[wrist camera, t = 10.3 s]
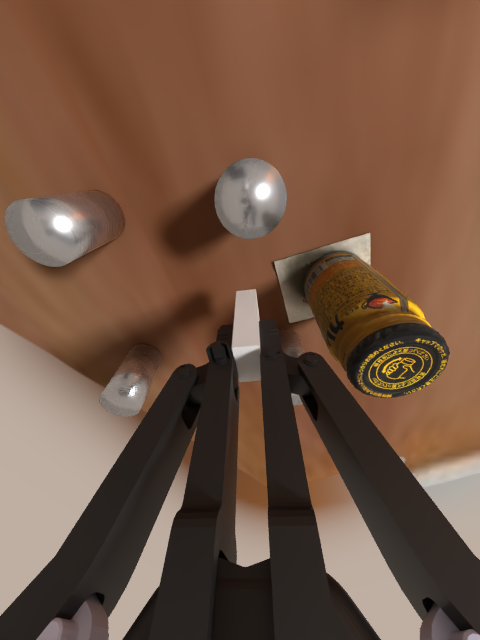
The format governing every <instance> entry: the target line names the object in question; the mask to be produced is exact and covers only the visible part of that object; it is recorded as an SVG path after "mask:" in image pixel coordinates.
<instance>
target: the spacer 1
mask: <svg viewBox="0 0 480 640" xmlns="http://www.w3.org/2000/svg"><path fill="white" fill-rule="evenodd" d="M5 225H6V228H7V231H8V233H9V236H10V237H11V239H12V241H13V242H14V243H15V245H16V246H17V247H18V248H19V249H20V250H21V251H22V252H23V253H24V254H25V255H26V256H28V257H29V258H31V259H32V260H34V261H36V262H38V263H40V264H42V265H46V266H50V267H60V266H64V265H66V264H68V263H70V262H72V261H74V260H76V259H78V258H80V257H81V256H83V255H85V254H87V253H89V252H91V251H93V250H95V249H97V248H99V247H101V246H103V245H104V244H106V243H108V242H110V241H112V240H114V239H116V238H118V237H119V236H120V235H121V234H122V232H123V230H124V227H125V219H124V215H123V212H122V210H121V208H120V206H119V205H118V203H117V202H116V201H115V200H114V199H113V198H112V197H111V196H109V195H108V194H106V193H104V192H101V191H98V190H89V191H81V192H74V193H67V194H59V195H52V196H44V197H37V198H29V199H22V200H17V201H15V202H13V203H11V204H10V205H9V207H8V208H7V210H6V213H5Z"/></svg>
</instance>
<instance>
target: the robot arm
mask: <svg viewBox="0 0 480 640" xmlns="http://www.w3.org/2000/svg"><path fill="white" fill-rule="evenodd" d="M216 340H217V341H216V342H214V343H212V344H210V345H209V346H208V347H207V349H206V352H207V355H208V358H209V363H207V364H205V365H203V366H200V367H197V368H196V367H195V366H194V365H192V364H184V365H181V366H179V367H178V368H177V369H176V370H175V371H174V372H173V374H172V375H171V377H170V378H169V380H168V381H167V383H166V384H165V386H164V388H163V389H162V391H161V392H160V394H159V395H158V397H157V398H156V400H155V402H154V403H153V405H152V406H151V408H150V409H149V411H148V412H147V414H146V416H145V417H144V419H143V420H142V422H141V424H140V425H139V426H138V428H137V430H136V431H135V433H134V434H133V436H132V437H131V439H130V440H129V442H128V444H127V445H126V447H125V448H124V450H123V451H122V453H121V454H120V456H119V458H118V459H117V461H116V463H115V464H114V465H113V467H112V469H111V470H110V472H109V473H108V475H107V476H106V478H105V479H104V481H103V483H102V484H101V486H100V487H99V489H98V490H97V492H96V493H95V495H94V496H93V498H92V500H91V501H90V503H89V504H88V506H87V507H86V509H85V511H84V512H83V514H82V515H81V517H80V518H79V520H78V521H77V523H76V524H75V526H74V528H73V529H72V531H71V533H70V534H69V535H68V537H67V539H66V540H65V542H64V543H63V545H62V546H61V548H60V549H59V551H58V553H57V554H56V556H55V557H54V558H53V559H52V560H51V561H50V562H49V563H48V565H47V566H46V567H45V568H44V569H43V570H42V571H41V572H40V574H38V576H37V577H36V578H35V579H34V580H33V581H32V582H31V583H30V584H29V586H27V587H26V589H25V590H24V591H23V592H22V593H21V594H20V595H19V596H18V597H17V598H16V599H15V601H14V602H13V603H12V604H11V605H10V606H9V607H8V608H7V609H6V610H5V612H4V613H3V614H2V615H1V616H0V640H108V637H109V634H108V617H109V616H110V614H111V612H112V611H113V609H114V608H115V606H116V604H117V603H118V600H119V599H120V597H121V595H122V594H123V592H124V590H125V588H126V586H127V584H128V582H129V580H130V578H131V576H132V574H133V572H134V569H135V567H136V565H137V563H138V561H139V558H140V556H141V553H142V551H143V549H144V547H145V545H146V542H147V540H148V538H149V535H150V533H151V531H152V528H153V526H154V524H155V521H156V519H157V517H158V515H159V512H160V510H161V508H162V505H163V503H164V501H165V498H166V496H167V494H168V491H169V489H170V487H171V485H172V482H173V480H174V478H175V475H176V473H177V471H178V468H179V466H180V464H181V461H182V459H183V457H184V454H185V452H186V450H187V447H188V445H189V443H190V441H191V438H192V436H193V434H194V431H195V429H196V427H197V430H196V435H195V441H194V446H193V452H192V457H191V462H190V468H189V473H188V478H187V484H186V489H185V494H184V500H183V504H182V507H181V509H180V510H179V511H178V512H177V513H176V515H175V518H174V520H173V524H172V528H171V533H170V538H169V542H168V548H167V552H166V557H165V563H164V567H163V572H162V577H161V582H160V586H159V587H158V588H157V589H156V591H155V592H154V594H153V595H152V597H151V598H150V599H149V601H148V602H147V604H146V605H145V607H144V608H143V610H142V611H141V613H140V614H139V616H138V617H137V619H136V620H135V622H134V623H133V625H132V626H131V628H130V629H129V631H128V632H127V634H126V635H125V637H124V638H123V640H381V639H380V638H379V637H378V635H377V634H376V632H375V631H374V630H373V628H372V627H371V626H370V624H369V623H368V621H367V620H366V618H365V617H364V616H363V614H362V613H361V611H360V610H359V609H358V607H357V606H356V604H355V603H354V602H353V601H352V599H351V597H350V596H349V595H348V594H347V592H346V591H345V590H344V589H343V588H342V587H341V585H340V584H339V583H338V582H337V581H336V580H335V579H334V578H333V577H331V576H330V575H329V574H327V573H326V570H325V564H324V559H323V554H322V549H321V543H320V538H319V533H318V528H317V522H316V518H315V513H314V510H313V507H312V504H311V500H310V494H309V489H308V483H307V478H306V472H305V467H304V462H303V456H302V451H301V445H300V440H299V434H298V429H297V424H296V418H295V413H294V407H293V402H292V396H291V393H292V394H297V395H299V397H300V399H301V401H302V403H303V405H304V407H305V409H306V410H307V412H308V414H309V416H310V418H311V420H312V422H313V424H314V426H315V428H316V429H317V431H318V433H319V435H320V437H321V439H322V441H323V443H324V445H325V447H326V448H327V450H328V452H329V454H330V456H331V458H332V460H333V462H334V464H335V466H336V468H337V469H338V471H339V473H340V475H341V477H342V479H343V481H344V483H345V485H346V486H347V488H348V490H349V492H350V494H351V496H352V498H353V500H354V502H355V504H356V506H357V507H358V509H359V511H360V513H361V515H362V517H363V519H364V521H365V523H366V525H367V527H368V528H369V530H370V532H371V534H372V536H373V538H374V540H375V542H376V544H377V546H378V547H379V549H380V551H381V553H382V555H383V557H384V559H385V561H386V563H387V565H388V566H389V568H390V570H391V572H392V573H393V575H394V577H395V579H396V580H397V582H398V584H399V585H400V587H401V589H402V591H403V592H404V594H405V595H406V597H407V598H408V600H409V601H410V603H411V604H412V606H413V607H414V609H415V610H416V612H417V613H418V615H419V616H420V617H421V619H422V620H423V622H422V625H421V628H420V640H480V560H479V559H478V558H477V557H476V556H475V555H474V554H473V553H472V552H471V550H470V549H469V548H468V546H467V545H466V544H465V543H464V541H463V540H462V539H461V537H460V536H459V535H458V534H457V532H456V531H455V529H454V528H453V527H452V525H451V524H450V523H449V522H448V520H447V519H446V518H445V516H444V515H443V514H442V512H441V511H440V510H439V509H438V508H437V506H436V505H435V503H434V502H433V501H432V499H431V498H430V497H429V496H428V494H427V493H426V492H425V491H424V489H423V488H422V486H421V485H420V484H419V482H418V481H417V480H416V478H415V477H414V476H413V474H412V473H411V472H410V471H409V469H408V468H407V467H406V465H405V464H404V463H403V461H402V460H401V459H400V458H399V456H398V455H397V454H396V452H395V451H394V450H393V448H392V447H391V446H390V444H389V443H388V442H387V441H386V439H385V438H384V437H383V435H382V434H381V433H380V431H379V430H378V429H377V427H376V426H375V425H374V424H373V422H372V421H371V420H370V418H369V417H368V416H367V414H366V413H365V412H364V410H363V409H362V408H361V407H360V405H359V404H358V403H357V401H356V400H355V399H354V397H353V396H352V395H351V394H350V392H349V391H348V390H347V388H346V387H345V386H344V384H343V383H342V382H341V380H340V379H339V378H338V377H337V375H336V374H335V373H334V371H333V370H332V369H331V367H330V366H329V365H328V363H327V362H326V361H325V360H324V358H323V357H322V356H321V355H319V354H317V353H313V352H307V353H304V354H301V355H300V356H299V358H298V357H292V356H289V355H287V354H285V353H284V352H283V350H282V347H281V341H280V336H279V331H278V325H277V323H276V322H275V321H274V320H264V321H260V318H259V310H258V302H257V294H256V289H251V290H243V291H236V303H235V315H234V324H232V325H223V326H221V327H220V329H219V330H218V334H217V339H216ZM238 378H239V382H246V381H259V380H261V388H262V405H263V422H264V439H265V456H266V473H267V489H268V527H269V544H270V558H269V559H267V560H264V561H262V562H259V563H257V564H254V565H251V566H249V567H242V566H239V565H237V564H236V560H237V555H236V553H237V551H236V538H235V511H236V480H237V478H236V477H237V449H238V418H239V386H238Z"/></svg>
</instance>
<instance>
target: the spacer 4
mask: <svg viewBox="0 0 480 640" xmlns="http://www.w3.org/2000/svg"><path fill="white" fill-rule="evenodd" d="M279 336H280V341H281V347H282V350H283V352H284V353H285V354H287V355H289V356H292V357H298V358H299V356H300V355H301V354H304V353H305V350H304V347H303V343H302V340H301V337H300V336H299V334H298V333H296V332H295V331H292V330H287V329H284V330H279ZM291 396H292V402H293V406H294V405H300V404H303V403H302V401H301V399H300V397H299V395H297V394H292V393H291Z"/></svg>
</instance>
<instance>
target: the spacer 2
mask: <svg viewBox="0 0 480 640" xmlns="http://www.w3.org/2000/svg"><path fill="white" fill-rule="evenodd" d="M161 363H162V355H161V353H160V352H159V351H158V350H157V349H156V348H155V347H153V346H151V345H148V344H137V345H135V346H133V347H132V348H131V350H130V351H129V353H128V354H127V356H126V357H125V359H124V360H123V362H122V363H121V365H120V366H119V368H118V370H117V371H116V373H115V374H114V376H113V377H112V379H111V380H110V382H109V383H108V385H107V386H106V388H105V389H104V391H103V392H102V394H101V395H100V398H99V401H100V404H101V405H102V406H103V408H105V409H106V410H107V411H109V412H110V413H113V414H116V415H119V416H133V415H135V414H137V413H138V412H139V411H140V409H141V407H142V405H143V403H144V400H145V398H146V396H147V394H148V391H149V389H150V387H151V385H152V383H153V380H154V378H155V376H156V374H157V372H158V369H159V367H160V365H161Z"/></svg>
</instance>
